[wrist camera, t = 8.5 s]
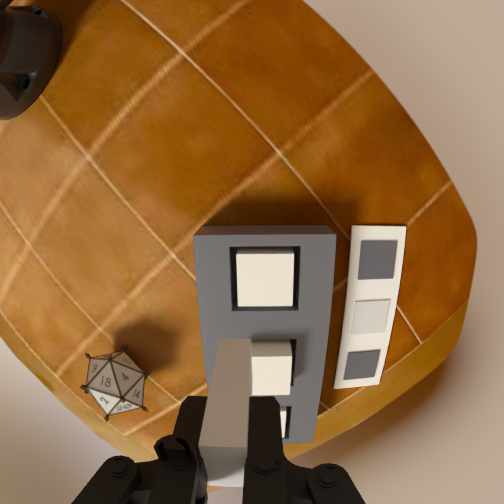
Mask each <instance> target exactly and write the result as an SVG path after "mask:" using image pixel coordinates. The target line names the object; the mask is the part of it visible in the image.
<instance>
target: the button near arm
mask: <svg viewBox="0 0 504 504" xmlns="http://www.w3.org/2000/svg"><path fill="white" fill-rule="evenodd" d="M236 261H237V292H238V306H292V303H293V274H294V252H293V250H292V247H291V246H248V247H238V250H237V253H236Z"/></svg>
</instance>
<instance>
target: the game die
mask: <svg viewBox="0 0 504 504" xmlns="http://www.w3.org/2000/svg"><path fill="white" fill-rule="evenodd" d="M126 349H127V347H126V345H125V346H123V351H120V352H115V353H111V354H106V355H101V356H96V357H90V355H89V354H87V353H85V355H86V357H87V358H88V359H89V365H88V372H87V379H86V385H81V387H80V388H81V389H83V390H84V389H85V390H84V393H86V394H87V393H90V394H91V395H92V397H93V398H94V399H95V401H96V402H97V403H98V405H99V406H100V407H101V409H102V410H103V411H104V413H105V414H106V416H105V418H104V419H105V421H106V422H107V421H108V419H109V415H113V414H118V413H122V412H126V411H130V410H134V409H138V408H142V410H144V411H146V412H148V410H147V408H146V407H144V406H143V396H144V384H145V380H146V377H145V375H149V374H150V373H151V372H152V371H148V370H147V371H145V372H143V371H142V370H141V368H140V367H139V366H138V365H137V364H136V363H135V362H134V361H133V360H132V359H131V358H130V357H129V356H128V355H127V354H126V352H125V351H126ZM86 388H87V389H86Z"/></svg>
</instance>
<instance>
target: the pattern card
mask: <svg viewBox="0 0 504 504" xmlns="http://www.w3.org/2000/svg"><path fill="white" fill-rule="evenodd" d="M405 236H406V226H370V225H351V241H350V255H349V268H348V280H347V290H346V300H345V309H344V318H343V326H342V334H341V341H340V348H339V355H338V362H337V368H336V374H335V380H334V386H333V388H334V389H339V388H350V387H360V386H369V385H377V384H379V382H380V378H381V374H382V370H383V366H384V362H385V358H386V353H387V349H388V344H389V340H390V335H391V330H392V325H393V320H394V315H395V309H396V303H397V297H398V291H399V285H400V278H401V271H402V263H403V255H404V246H405Z"/></svg>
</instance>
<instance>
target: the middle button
mask: <svg viewBox="0 0 504 504" xmlns="http://www.w3.org/2000/svg"><path fill="white" fill-rule="evenodd" d="M251 355H252V381H253V383H252V395H290V382H291V367H292V352H291V345H290V339H259V340H251Z"/></svg>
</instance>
